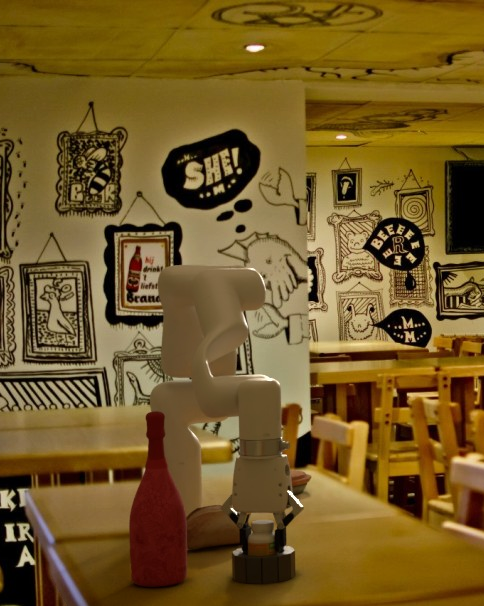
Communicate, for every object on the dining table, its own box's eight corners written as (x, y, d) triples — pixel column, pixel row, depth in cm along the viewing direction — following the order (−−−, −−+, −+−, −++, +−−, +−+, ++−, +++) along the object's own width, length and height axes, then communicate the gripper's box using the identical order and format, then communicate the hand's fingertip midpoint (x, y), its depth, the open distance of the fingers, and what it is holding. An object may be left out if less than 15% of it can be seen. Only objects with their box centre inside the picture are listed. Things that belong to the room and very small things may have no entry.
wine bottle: (135, 576, 222) (131, 409, 222) (191, 574, 223) (186, 407, 222) (126, 590, 212) (121, 415, 212) (184, 587, 213) (180, 413, 213)
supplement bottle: (273, 580, 217) (271, 525, 217) (244, 579, 218) (242, 524, 218) (283, 573, 222) (281, 519, 222) (254, 572, 224) (253, 518, 223)
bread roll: (168, 548, 245) (167, 508, 245) (234, 537, 255) (233, 498, 254) (192, 556, 238) (191, 514, 238) (259, 544, 247) (258, 504, 247)
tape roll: (224, 583, 216) (223, 557, 216) (245, 568, 227) (244, 544, 226) (284, 584, 214) (283, 558, 214) (302, 569, 225) (301, 545, 225)
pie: (308, 497, 300) (307, 476, 300) (244, 498, 301) (243, 477, 300) (315, 486, 316) (314, 466, 316) (254, 487, 316) (254, 467, 316)
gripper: (313, 445, 222) (315, 546, 222) (222, 445, 225) (224, 544, 226) (301, 451, 215) (303, 555, 215) (207, 451, 218) (209, 553, 218)
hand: (263, 548), depth 220 cm, fingers closed on supplement bottle, 5 cm apart
